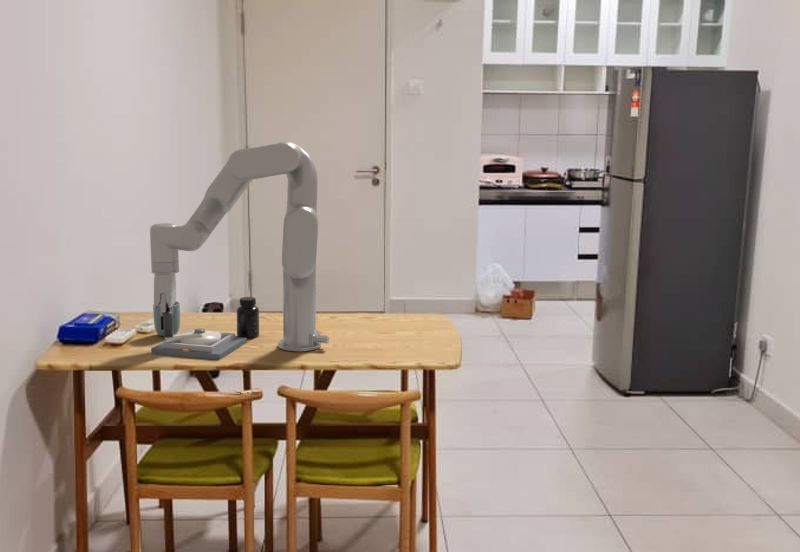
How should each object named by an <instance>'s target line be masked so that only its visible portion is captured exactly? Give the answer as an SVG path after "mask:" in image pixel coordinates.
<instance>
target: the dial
mask: <svg viewBox="0 0 800 552" xmlns="http://www.w3.org/2000/svg"><path fill="white" fill-rule="evenodd" d="M163 323H164V340H165V341H170V340H178V339H179V343H184V344H196V345H207V346H211V345H213V344H214V343H216V342H218V341H219V340H221V334H220V333H219V331H215V330H206V329H205V328H199V327H198V328H195V329H193V330H194V331H190V332H186V333H183V332H182V333H183V334H180V333H177V334H176V335H174V334H173V312H171V311H167V312H166V313H163Z"/></svg>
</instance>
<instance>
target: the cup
mask: <svg viewBox="0 0 800 552" xmlns="http://www.w3.org/2000/svg"><path fill="white" fill-rule="evenodd" d="M152 306H153V307H152V309H153V311H152V313H153V324H154V325H153V326H154V329H155V332H156V335H158V336H160V337H164V330H161V309H160V305H159V306H158V307H157V308H155V307H154V303H153V305H152ZM180 328H181V304H180V302H179V301H177V300H176V301H175V303H174V304H173V334H174V335H176V334H179V330H180ZM164 338H165V337H164Z"/></svg>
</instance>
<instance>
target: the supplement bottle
mask: <svg viewBox="0 0 800 552" xmlns="http://www.w3.org/2000/svg"><path fill="white" fill-rule="evenodd" d="M256 305H257V301H256V298H255V297H254V296H244V297H241V298H239V306H238V307H237V308H236V337H242V338H246V340H249V339H250V340H251V339H255V338H257V337H259V336H260V309H259V307H258V306H256Z"/></svg>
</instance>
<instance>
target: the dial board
mask: <svg viewBox="0 0 800 552" xmlns="http://www.w3.org/2000/svg"><path fill="white" fill-rule="evenodd" d="M194 330H195V329H188V330H186V331H184V332H181V333H179V334H183V333H186V332H190V331H194ZM218 332H219V331H218ZM219 333H220V334H221V340H219V341H218V342H216V343H214V344H213V345H211V346H207V345H196V344H184V343H179V339H178V340H170V341H167V340H165V341H163V342H161V343H159V344H157V345H155V346H153V347H152V348H150V352H151V354H153V355H163V356H175V357H184V356H187V358H195V357H196V358H197V359H209V360H217V359H220V360H222V359H224V358H225V357H226V356H227V357H228V355H230V354H231V353H232V352H234V351H236V350H237V349H239V348H240V347H242V346H243V345H245V344H247V339H246V338H242V337H238V336H236V333H234V332H221V331H220V332H219Z"/></svg>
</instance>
